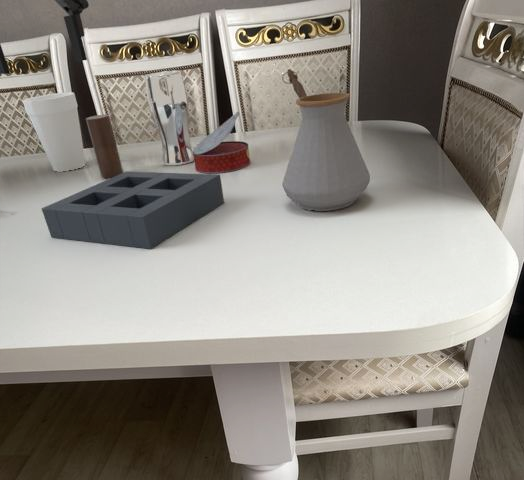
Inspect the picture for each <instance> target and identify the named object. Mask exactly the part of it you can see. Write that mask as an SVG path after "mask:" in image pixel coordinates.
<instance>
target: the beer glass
mask: <svg viewBox="0 0 524 480" xmlns="http://www.w3.org/2000/svg"><path fill="white" fill-rule="evenodd" d="M143 77H144V84H145V91H146V97H147V98H146V99H147V102H148V107H149V111H150V114H151V118H152V120H153V122H154V126H155V128H156V130H157V133H158V136H159V140H160V144H161V148H162V163H163V165H165V166H169V167H170V166H181V165H187V164H190V163H192V162H194V156H193V150H194V149H193V148H192V144H191V139H190V119H189V112H190V111H189V102H188V95H187V90H186V86H185V82H184V77H183V73H182V70H177V69H176V70H165V71H164V70H163V71H158V72H154V73H147V74H144V76H143Z"/></svg>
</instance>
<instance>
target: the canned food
mask: <svg viewBox="0 0 524 480" xmlns="http://www.w3.org/2000/svg"><path fill="white" fill-rule="evenodd" d="M239 116H240V112H239V111H236V112H235V114H233V115H232V116H231V117H230V118H228V119H227V120H225V121H224V122H223V123H222V124H221V125H219V126H218V127H217V128H216V129H214V130H213V131H212V132H211V133H209V134H208V135H206V137H205V138H204V139H203V140H201V141H200V142H199V143H198V144H197V145H196V147H194V149H192V150H193V156H194V161H193V162H194V167H195V171H196V172H197V173H200V174H222V173H223V174H224V173H230V172H235V171H238V170H242V169H244V168H246V167H247V166H249V165H250V164H251V156H250V148H249V143H248V142H246V141H240V140H230V141H228V140H227V141H225V140H226V139H227V138H228V136H229V135H230V134H231V132H232V131H233V129H234V127H235V124H236V120H237V118H238V117H239Z"/></svg>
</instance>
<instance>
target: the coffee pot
mask: <svg viewBox="0 0 524 480" xmlns="http://www.w3.org/2000/svg"><path fill="white" fill-rule="evenodd" d="M286 74H287V77H288V82H287V81H285V80H284V77H285V75H286ZM281 80H282V82H283V83H284V84H288V85H290V84H291V85H292V87H293V88H292V89H293V91H294V92H295V94H296V95H297V97H298V98H297V99H296V100H295V104H296V105H297V106H299V109H300V113H301V117H302V119H301V121H300V125H299V128H298V132H297V134H296V138H295V140H294V144H293V148H292V150H291V154H290V157H289V161H288V164H287V167H286V170H285V173H284V175H283V181H282V183H281V184H282V185H281V186H282V189H283V191H284V193H285V194H286V196H287V197H288V198H289V199H290V200H291V201H293V203H295V204H297V206H298V207H299V208H301V209H303V210H306V209H307V210H306V211H311V210H315V211H314V212H329V211H336V210H337V211H338V210H342V209H344V208H347V207H349V206H352V205H354V204H355V202H356V201H357V199H358V198H360V197H361V196H362V195H363V193H364V192H365V191H366V190H367V189H368V187H369V184H370V181H371V174H370V172H369V169H368V167H367V164H366V163H365V160H364V158H363V156H362V153H361V151H360V148H359V146H358V143H357V141H356V138H355V136H354V134H353V132H352V130H351V127H350V124H349V122H348V120H347V118H346V115H345V110H346V107H347V103H348V101H349V99H350V98H351V93H347V92H327V93H318V94H312V95H307V93H306V90H305V88H304V86H303V84H302V83H301V82H300V81H299V78H298V73H297V72H296V71H294V70H292V69H291V68H288V69H287V71H286V72H284V73H283V74H282V77H281Z"/></svg>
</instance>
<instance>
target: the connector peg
mask: <svg viewBox="0 0 524 480" xmlns="http://www.w3.org/2000/svg"><path fill="white" fill-rule="evenodd" d="M85 122H86V124H87V125H86V126H87V129H88V133H89V136H90V140H91V143H92V147H93V151H94V154H95V159H96V162H97V165H98V166H97V167H98V169H99V173H100V176H101V178H102V179H103V180H104V179H106V180H108V179H110V178H112V177H115V176H117V175H119V174H122V173H124V170H123V165H122V162H121V158H120V154H119V149H118V145H117V141H116V137H115V133H114V129H113V125H112V121H111V117H110V114H97V115H92V116H89V117H86V118H85Z"/></svg>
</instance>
